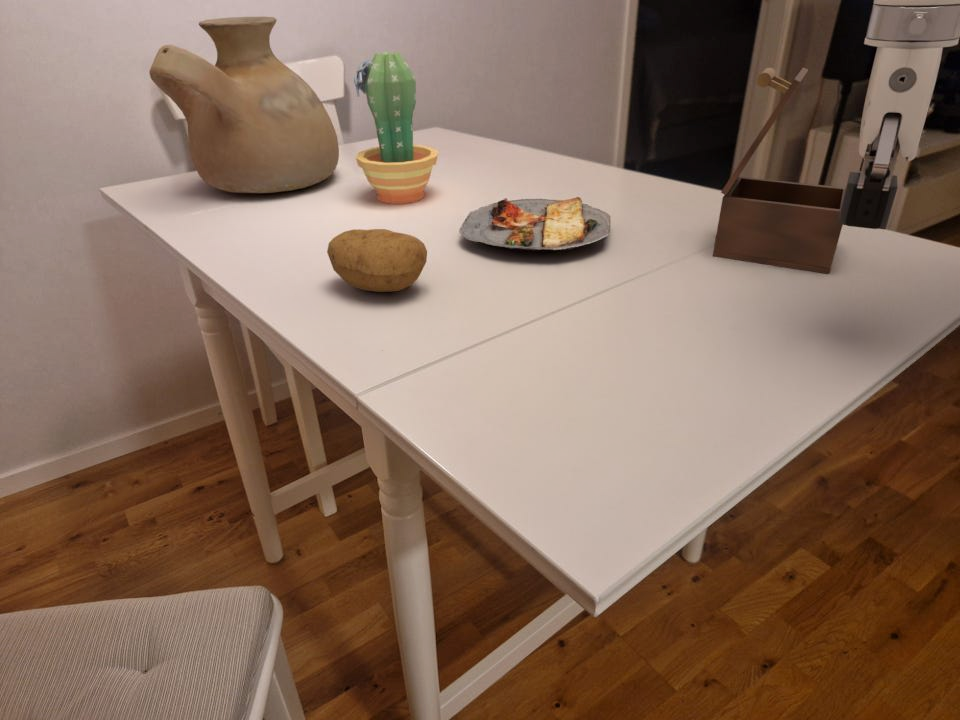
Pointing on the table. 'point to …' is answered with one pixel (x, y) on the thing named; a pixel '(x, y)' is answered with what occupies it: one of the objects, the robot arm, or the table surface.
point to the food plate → (537, 224)
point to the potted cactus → (393, 131)
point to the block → (851, 183)
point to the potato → (377, 259)
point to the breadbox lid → (788, 89)
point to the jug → (248, 111)
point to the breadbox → (780, 223)
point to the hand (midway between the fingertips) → (863, 216)
